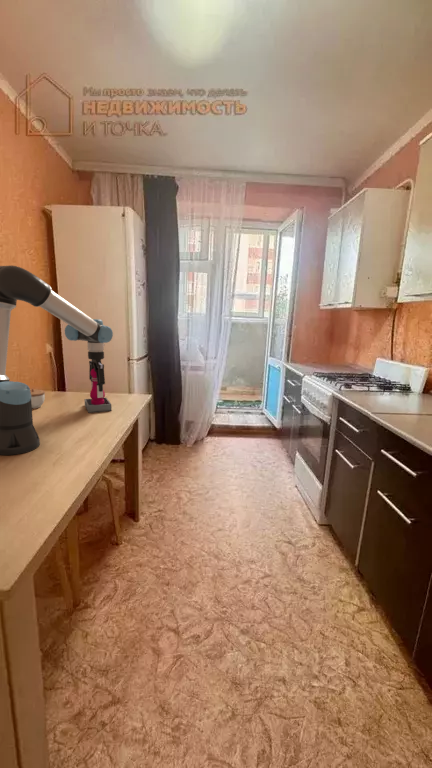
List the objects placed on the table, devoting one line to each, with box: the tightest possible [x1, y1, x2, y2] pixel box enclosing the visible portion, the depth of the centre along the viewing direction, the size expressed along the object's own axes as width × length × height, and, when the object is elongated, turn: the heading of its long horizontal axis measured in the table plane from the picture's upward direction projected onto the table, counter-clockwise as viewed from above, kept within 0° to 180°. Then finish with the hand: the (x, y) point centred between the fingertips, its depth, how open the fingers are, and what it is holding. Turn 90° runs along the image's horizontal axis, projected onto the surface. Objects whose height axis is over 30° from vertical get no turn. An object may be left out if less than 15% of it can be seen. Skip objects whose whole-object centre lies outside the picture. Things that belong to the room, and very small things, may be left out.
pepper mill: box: [89, 368, 106, 405], centre depth 173 cm, size 7×7×20 cm
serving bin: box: [84, 397, 113, 414], centre depth 176 cm, size 14×11×4 cm
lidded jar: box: [30, 388, 46, 410], centre depth 173 cm, size 11×11×9 cm
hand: (97, 395), depth 174 cm, fingers closed on pepper mill, 7 cm apart
